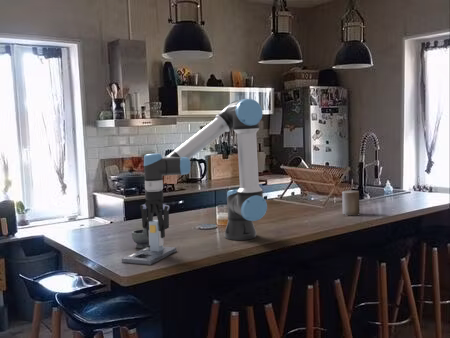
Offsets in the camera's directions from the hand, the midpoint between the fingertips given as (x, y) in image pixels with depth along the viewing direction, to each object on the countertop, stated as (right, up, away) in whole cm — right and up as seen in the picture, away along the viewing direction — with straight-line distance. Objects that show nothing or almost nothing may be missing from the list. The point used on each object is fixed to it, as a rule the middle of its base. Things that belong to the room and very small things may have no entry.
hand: (156, 244), depth 206 cm
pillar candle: (+103, +5, +77) cm, 128 cm away
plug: (0, -4, 0) cm, 4 cm away
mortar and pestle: (-8, -3, +13) cm, 16 cm away
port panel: (-2, -4, -5) cm, 7 cm away
